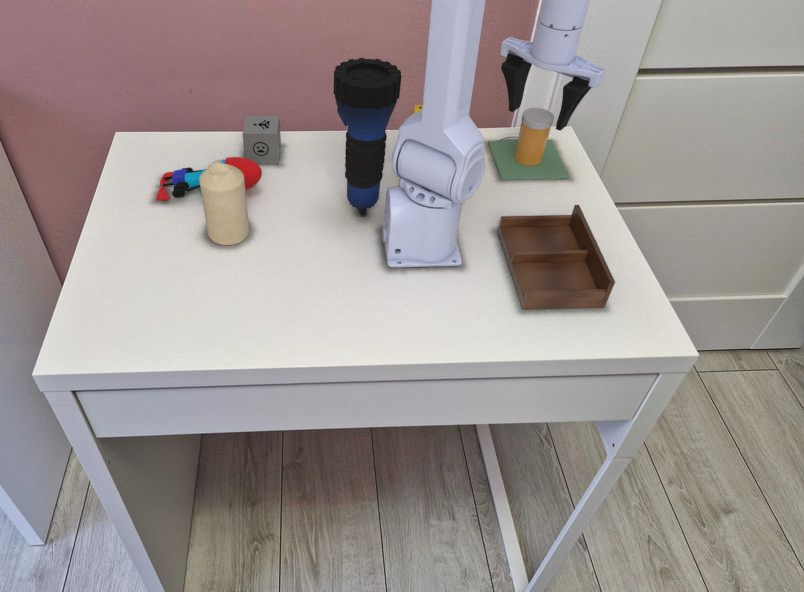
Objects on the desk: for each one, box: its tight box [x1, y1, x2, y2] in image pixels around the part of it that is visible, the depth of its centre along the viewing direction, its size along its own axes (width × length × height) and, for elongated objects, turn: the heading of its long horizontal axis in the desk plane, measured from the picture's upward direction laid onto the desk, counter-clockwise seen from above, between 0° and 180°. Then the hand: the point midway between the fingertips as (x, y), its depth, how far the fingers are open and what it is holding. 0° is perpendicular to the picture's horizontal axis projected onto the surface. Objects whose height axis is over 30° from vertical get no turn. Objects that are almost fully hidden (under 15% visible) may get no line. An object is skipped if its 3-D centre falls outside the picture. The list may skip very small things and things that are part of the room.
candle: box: [199, 162, 250, 246], centre depth 89 cm, size 6×6×10 cm
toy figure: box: [155, 156, 263, 202], centre depth 97 cm, size 8×5×15 cm
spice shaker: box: [514, 107, 555, 166], centre depth 102 cm, size 4×4×7 cm
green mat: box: [487, 139, 570, 181], centre depth 105 cm, size 10×10×1 cm
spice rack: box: [497, 204, 616, 311], centre depth 87 cm, size 10×15×4 cm, turn 3°
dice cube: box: [241, 115, 282, 165], centre depth 103 cm, size 5×5×5 cm
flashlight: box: [333, 57, 402, 218], centre depth 88 cm, size 8×8×20 cm
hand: (537, 118), depth 100 cm, fingers open, 7 cm apart
